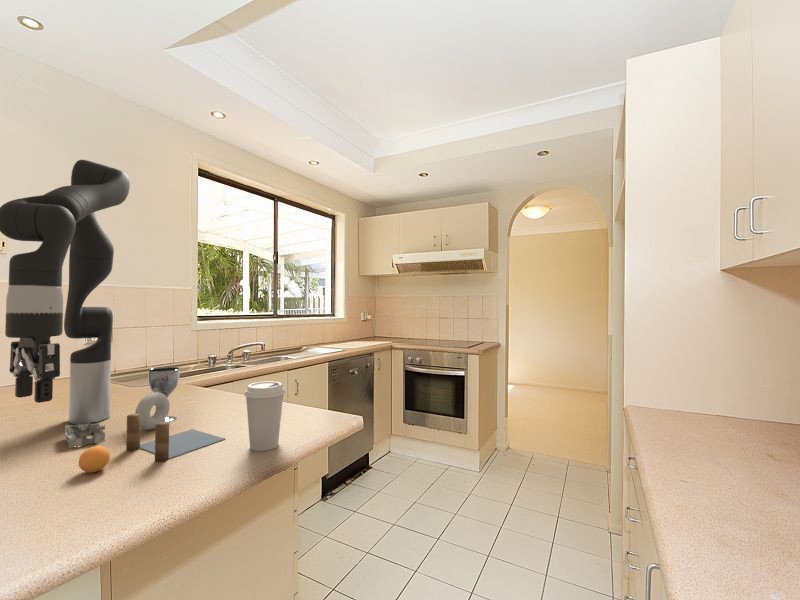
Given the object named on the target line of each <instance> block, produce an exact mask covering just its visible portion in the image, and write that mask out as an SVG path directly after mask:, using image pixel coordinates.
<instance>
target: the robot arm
mask: <svg viewBox="0 0 800 600" xmlns="http://www.w3.org/2000/svg"><path fill="white" fill-rule="evenodd" d="M130 186H131V185H130V178H129V176H128V174H127V173H125V172H124V171H123V170H120V169H118V168H114V167H112V166H108V165H104V164H101V163H98V162H95V161H91V160H87V159H79V160H77V161H76V162H75V163H74V165H73V167H72V170H71V176H70V185H65V186H63V185H62V186H59V187H57V188H55V189H53V190H50V191H48V192H46V193H44V194H41V195H33V196H28V197H22V198H16V199H12V200H10V201H7V202H5V203H4V204H2V205H1V206H0V233H1V234H2V235H4V236H5V237H6V238H9V239H11V240H14V241H20V242H41V244H40V245H39V247H38V248H37V249H35V250H33V251H30V252H23V253H17V254H15V255H12V256H11V257H10V260H9V262H8V263H9V264H8V265H9V266H8V290H7V294H6V298H5V299H6V300H5V331H4V333H5V334H4V335H5V337H7V338H11V339H12V338H13V339H19V340H17V341H11V342H10V355H9V358H10V360H9V373H10V374H12V375H13V377H14V378H15V382H14V385H15V389H14V396H15V397H16V398H25V397H26V398H27V397H31V396H32V395H33V394H34V397H33V399H34V402H35V403H39V404H41V403H46V402H50V401H52V400H53V393H54V392H53V390H54V389H53V387H54V386H53V385H54V380H55V379H56V378H59V377H60V376H61V345H60V343H59V342H58V343H52V342H51V337H59V336H62V334H63V329H64V333H65V335H66V337H67V338H68V339H74V340H75V339H77V340H78V339H79V340H81V339H96V338H97V340H96V341H95V342H94V343H93V344H91V345H88V346H87V347H84V348H81V349H78V350H75V351H73V352H72V353H71V354H70V361H69V362H70V363H69V364H70V365H69V399H68V400H69V401H68V402H69V405H68V406H69V407H68V410H69V411H68V423H69V424H71V425H72V424H73V425H77V424H78V425H81V424H88V423H90V424H92V423H98V422H101V421H104V420H106V419H108V418H110V415H111V414H110V410H111V378H112V377H111V374H112V373H111V372H112V371H111V367H112V365H111V364H112V362H111V361H112V337H113V335H112V334H113V327H114V326H113V322H114V316H113V315H114V314H113V311H112V309H111V308H110V307H107V306H83V304H85V302H86V299H87V298H88V296H89V295H90V294H91V293H92V292H93V291H94V290H95V289H96V288H97V287H98V286H100V284H101V283H103V282H104V281H105V280H106V279H107V278H108V277H109V275H110V274H111V272H112V270H113V266H114V265H113V264H114V263H113V262H114V252H115V250H114V244H113V243H112V242H111V240H110V238H109V236H108V234H107V233H106V231H105V230H104V228H103V227H102V225H101V223H99V220H98V219H97V216H96V214H95V213H96V212H98V211H99V212H100V211H102V210H106V209H108V208H112V207H116V206H118V205H119V206H120V205H121V204H123V203H124V202H125V201H126V199H127V197H128V195H129V193H130ZM68 250H69V255H68V256H69V257H68V258H69V259H68V269H69V270H68V291H67V298H66V305H65V311H64V295H63V288H62V285H63V266H64V262H65V259H66V257H67V253H68ZM63 319H64V321H63ZM33 381H34V383H33ZM33 384H34V385H33ZM33 386H34V387H33ZM33 388H34V390H33ZM33 391H34V393H33Z"/></svg>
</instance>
